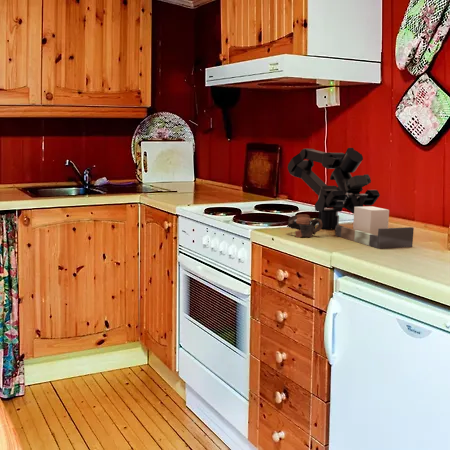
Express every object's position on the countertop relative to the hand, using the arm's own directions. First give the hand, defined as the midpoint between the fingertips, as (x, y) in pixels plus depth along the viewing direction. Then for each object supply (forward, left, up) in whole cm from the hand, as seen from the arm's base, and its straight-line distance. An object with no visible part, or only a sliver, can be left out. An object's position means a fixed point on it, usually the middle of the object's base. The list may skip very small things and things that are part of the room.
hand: (362, 217), depth 207 cm
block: (+3, -3, -4) cm, 6 cm away
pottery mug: (-18, -6, -7) cm, 20 cm away
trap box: (+4, -4, -7) cm, 9 cm away
